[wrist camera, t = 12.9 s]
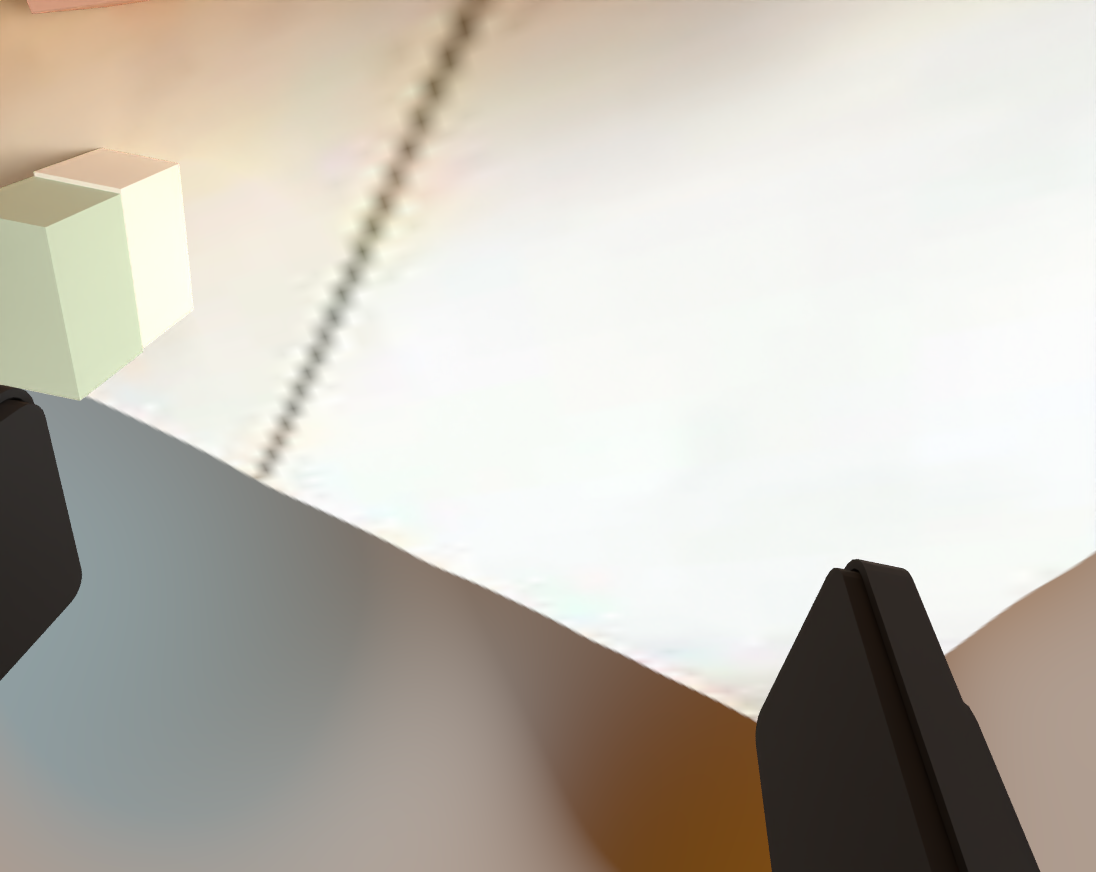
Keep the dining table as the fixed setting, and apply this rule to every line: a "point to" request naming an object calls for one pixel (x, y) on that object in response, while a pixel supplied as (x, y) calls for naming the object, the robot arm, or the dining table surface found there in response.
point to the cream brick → (143, 229)
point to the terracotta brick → (72, 4)
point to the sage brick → (64, 288)
